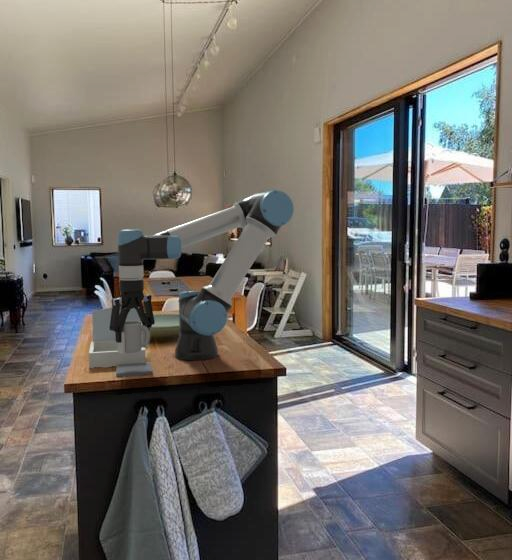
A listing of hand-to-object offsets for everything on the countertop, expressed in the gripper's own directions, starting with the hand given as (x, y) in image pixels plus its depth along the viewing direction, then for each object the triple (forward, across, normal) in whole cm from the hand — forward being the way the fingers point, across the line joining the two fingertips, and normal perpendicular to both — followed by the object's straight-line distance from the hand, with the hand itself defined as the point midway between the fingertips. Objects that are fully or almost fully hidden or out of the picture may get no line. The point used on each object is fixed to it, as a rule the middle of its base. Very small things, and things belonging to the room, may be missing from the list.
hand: (133, 349), depth 179 cm
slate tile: (+7, 0, 0) cm, 7 cm away
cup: (+1, 0, 0) cm, 1 cm away
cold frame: (+7, -7, -18) cm, 21 cm away
